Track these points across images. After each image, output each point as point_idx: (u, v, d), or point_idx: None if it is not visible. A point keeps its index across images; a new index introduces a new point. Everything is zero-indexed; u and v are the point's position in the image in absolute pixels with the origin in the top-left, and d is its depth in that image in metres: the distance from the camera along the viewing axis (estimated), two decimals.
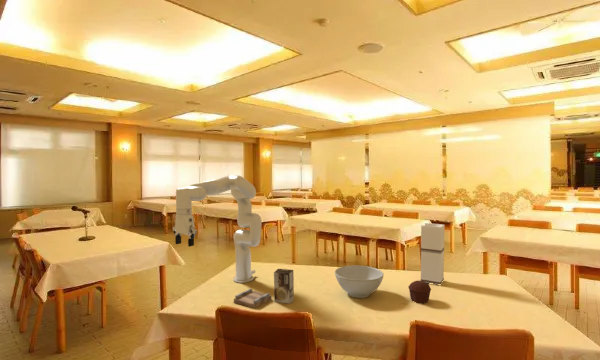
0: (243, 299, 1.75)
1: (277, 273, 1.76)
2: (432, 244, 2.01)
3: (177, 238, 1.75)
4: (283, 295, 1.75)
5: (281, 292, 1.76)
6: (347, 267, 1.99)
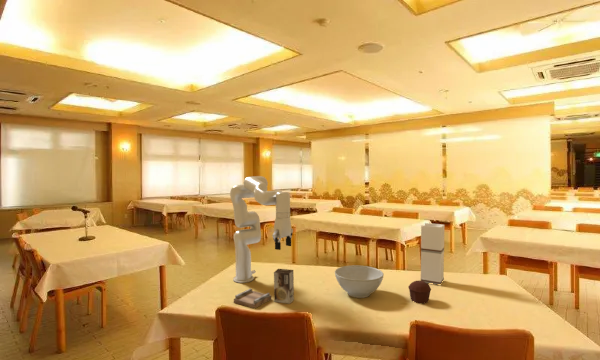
0: (243, 299, 1.75)
1: (277, 273, 1.76)
2: (432, 244, 2.01)
3: None
4: (283, 295, 1.75)
5: (281, 292, 1.76)
6: (347, 267, 1.99)
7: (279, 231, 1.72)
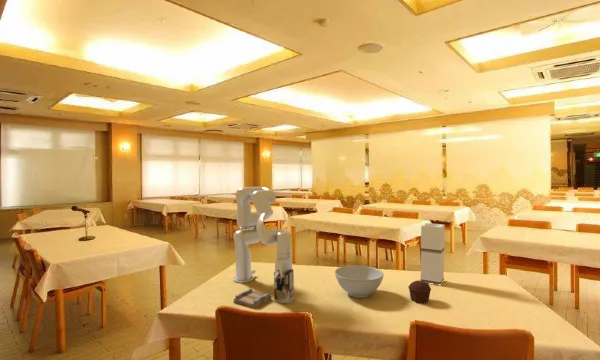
0: (243, 299, 1.75)
1: None
2: (432, 244, 2.01)
3: None
4: (283, 295, 1.75)
5: (281, 292, 1.76)
6: (347, 267, 1.99)
7: (280, 273, 1.73)
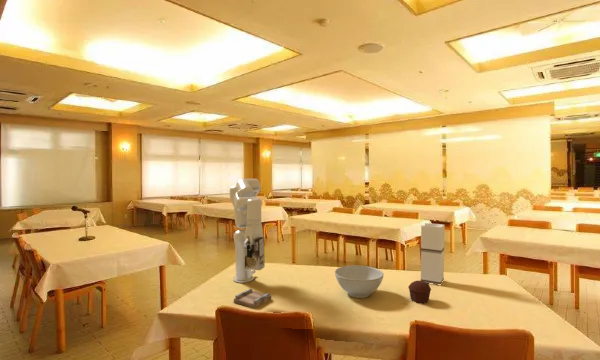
0: (243, 299, 1.75)
1: None
2: (432, 244, 2.01)
3: None
4: (253, 262, 1.75)
5: (251, 259, 1.75)
6: (347, 267, 1.99)
7: (250, 239, 1.72)
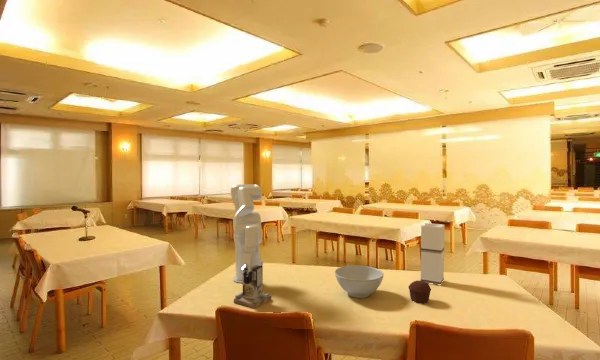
0: (243, 299, 1.75)
1: None
2: (432, 244, 2.01)
3: None
4: (250, 291, 1.75)
5: (249, 289, 1.76)
6: (347, 267, 1.99)
7: (247, 266, 1.73)
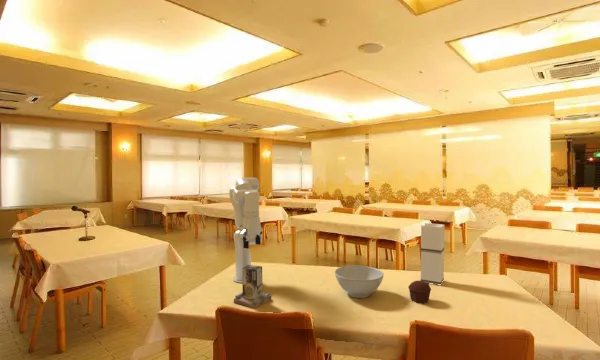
0: (243, 299, 1.75)
1: (245, 269, 1.76)
2: (432, 244, 2.01)
3: None
4: (250, 292, 1.75)
5: (249, 289, 1.76)
6: (347, 267, 1.99)
7: (247, 230, 1.75)
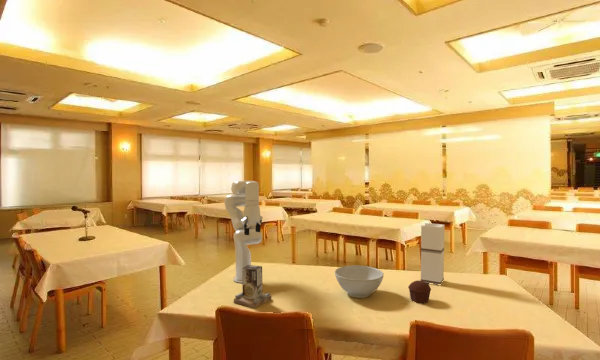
0: (243, 299, 1.75)
1: (245, 269, 1.76)
2: (432, 244, 2.01)
3: None
4: (250, 292, 1.75)
5: (249, 289, 1.76)
6: (347, 267, 1.99)
7: (248, 218, 1.86)
